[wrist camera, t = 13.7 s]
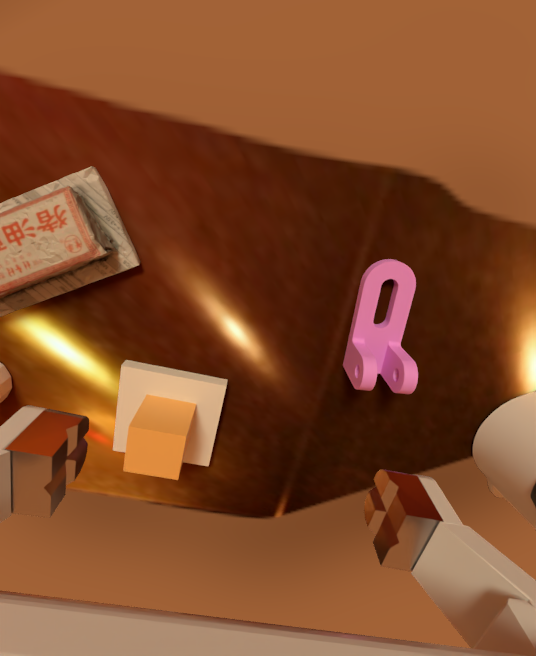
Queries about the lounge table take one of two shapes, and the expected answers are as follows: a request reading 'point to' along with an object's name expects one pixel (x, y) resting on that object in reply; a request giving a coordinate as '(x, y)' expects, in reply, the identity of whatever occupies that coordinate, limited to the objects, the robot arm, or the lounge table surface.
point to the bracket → (382, 331)
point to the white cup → (4, 382)
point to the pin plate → (178, 387)
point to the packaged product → (60, 240)
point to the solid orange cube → (159, 437)
